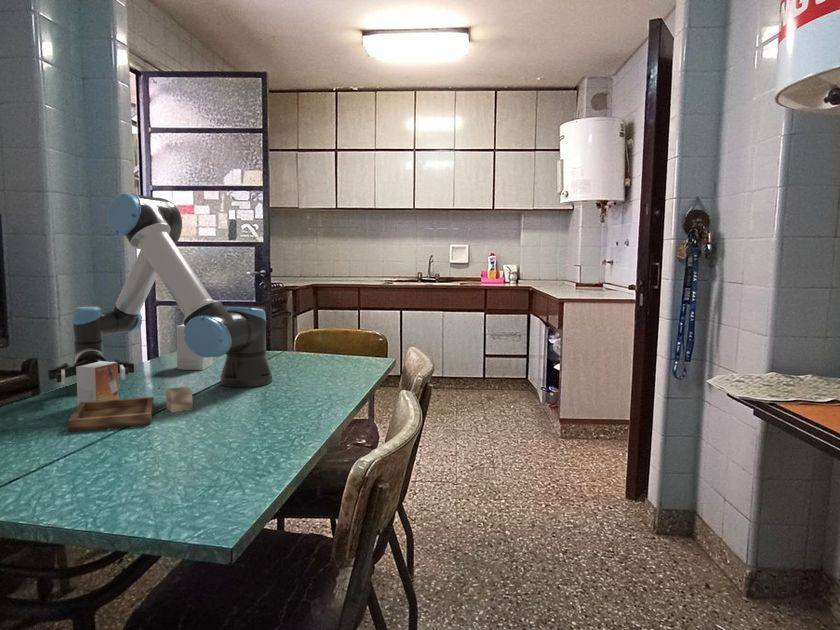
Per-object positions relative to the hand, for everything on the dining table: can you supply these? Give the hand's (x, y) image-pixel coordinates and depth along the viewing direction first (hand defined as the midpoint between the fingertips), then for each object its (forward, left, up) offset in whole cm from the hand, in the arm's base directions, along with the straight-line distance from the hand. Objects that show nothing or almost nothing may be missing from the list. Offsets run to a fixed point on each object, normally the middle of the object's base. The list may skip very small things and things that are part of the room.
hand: (94, 376), depth 144 cm
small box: (-1, +4, -7) cm, 8 cm away
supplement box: (-25, -38, -7) cm, 46 cm away
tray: (-6, +19, -6) cm, 21 cm away
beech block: (-20, +15, -7) cm, 26 cm away
